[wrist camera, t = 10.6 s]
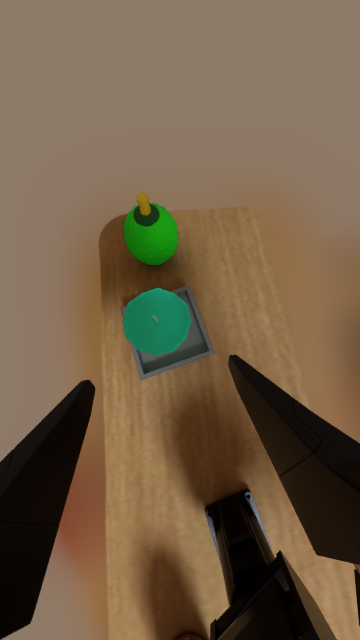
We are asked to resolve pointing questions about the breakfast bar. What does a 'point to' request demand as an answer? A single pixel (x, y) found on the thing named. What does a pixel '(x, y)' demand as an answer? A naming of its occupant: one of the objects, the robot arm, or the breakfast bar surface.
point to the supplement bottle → (189, 637)
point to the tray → (187, 352)
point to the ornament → (150, 232)
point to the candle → (156, 321)
